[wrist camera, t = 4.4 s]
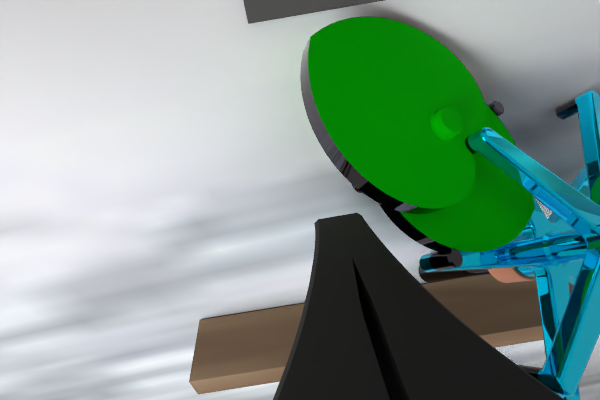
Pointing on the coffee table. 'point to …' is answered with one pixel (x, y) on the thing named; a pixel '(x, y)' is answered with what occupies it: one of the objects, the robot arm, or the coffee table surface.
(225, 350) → the channel box
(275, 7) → the mats
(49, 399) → the coffee table surface
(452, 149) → the stick construction toy
